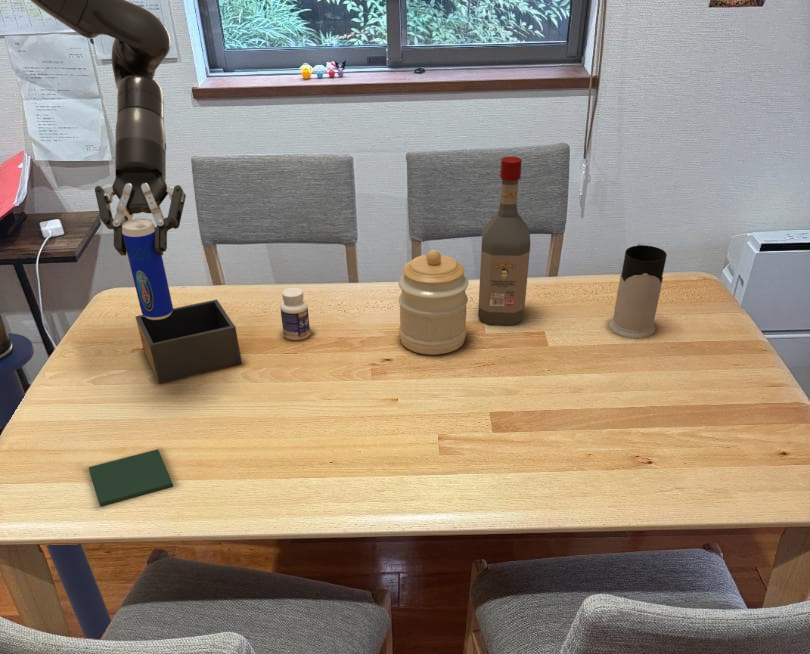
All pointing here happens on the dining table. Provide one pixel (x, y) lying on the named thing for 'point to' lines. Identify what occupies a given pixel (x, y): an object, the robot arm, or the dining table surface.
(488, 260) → the liquor
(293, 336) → the pill bottle
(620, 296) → the glass holder
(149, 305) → the beverage can
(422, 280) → the jar
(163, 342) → the dark grey open box
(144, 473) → the mat
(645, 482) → the dining table surface
